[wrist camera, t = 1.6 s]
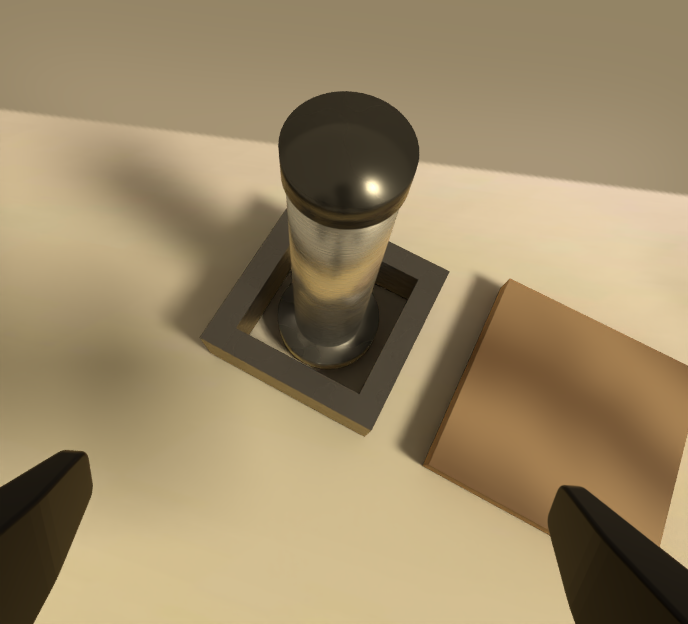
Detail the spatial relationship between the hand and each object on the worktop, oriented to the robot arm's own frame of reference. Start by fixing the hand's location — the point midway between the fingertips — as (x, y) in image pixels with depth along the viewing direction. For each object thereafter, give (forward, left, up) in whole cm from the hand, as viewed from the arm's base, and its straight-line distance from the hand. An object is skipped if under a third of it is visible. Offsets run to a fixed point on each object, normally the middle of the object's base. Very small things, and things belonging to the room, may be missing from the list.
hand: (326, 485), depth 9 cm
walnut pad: (+8, -9, -13) cm, 17 cm away
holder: (+7, +3, -13) cm, 15 cm away
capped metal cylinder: (+7, +3, -13) cm, 15 cm away
